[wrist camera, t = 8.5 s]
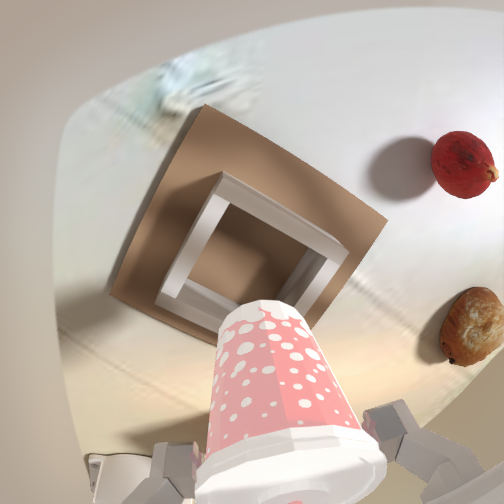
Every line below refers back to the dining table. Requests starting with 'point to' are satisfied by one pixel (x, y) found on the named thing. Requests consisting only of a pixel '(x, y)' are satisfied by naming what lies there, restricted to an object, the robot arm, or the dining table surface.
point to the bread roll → (473, 327)
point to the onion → (463, 164)
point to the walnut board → (241, 232)
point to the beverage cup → (281, 418)
